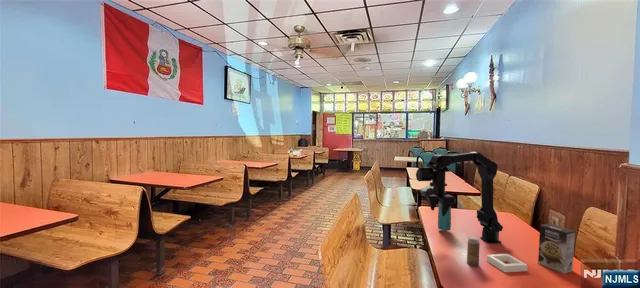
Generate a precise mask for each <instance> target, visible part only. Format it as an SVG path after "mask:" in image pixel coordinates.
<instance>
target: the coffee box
mask: <svg viewBox="0 0 640 288" xmlns="http://www.w3.org/2000/svg"><path fill="white" fill-rule="evenodd" d="M575 238H576V230H574V229H569V228H566V227H563V226H559V225H555V224H552V223H544V224H540V225H539V240H538V242H539V243H538V256H537V257H538V260H537V264H539V265H540V266H541V265H542V266H544V267H546V268H548V269H552V270H553V271H557V272H558V273H561V274H567V273H570V272H573V271H572V270H573V269H574V267H573V266H574V264H573V263H574V253H575Z"/></svg>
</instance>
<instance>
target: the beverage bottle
mask: <svg viewBox="0 0 640 288" xmlns="http://www.w3.org/2000/svg"><path fill="white" fill-rule="evenodd" d="M437 202H438V211H437V228H438V229H439V230H440V231H444V232H445V231H446V232H447V231H451V228H452V222H451V221H452V206H451V207H450V208H449V210H448V211H447V213H446V215H445V216H442V212H441V205H440V203H439V201H437Z"/></svg>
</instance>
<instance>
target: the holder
mask: <svg viewBox="0 0 640 288" xmlns="http://www.w3.org/2000/svg"><path fill="white" fill-rule="evenodd" d="M486 262H488V263H489V264H491V265H492V266H494V267H496V268H498V269H499V270H500V271H502V272H503V273H517V272H527V271H528V264H527V263H525V262H523V261H521V260H520V259H518V258H516V257H514V256H512V255H510V254H508V253H496V254H487V255H486ZM505 262H508V263H505Z"/></svg>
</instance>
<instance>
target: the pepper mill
mask: <svg viewBox="0 0 640 288" xmlns="http://www.w3.org/2000/svg"><path fill="white" fill-rule="evenodd" d="M480 247H481V245H480V239H479V238H477V237H474V236H473V237H472V236H470V237H468V239H467V247H466V248H467V249H466V250H467V252H466V264H467V265H468V266H470V267H475V268H478V267H479V266H480Z"/></svg>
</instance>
